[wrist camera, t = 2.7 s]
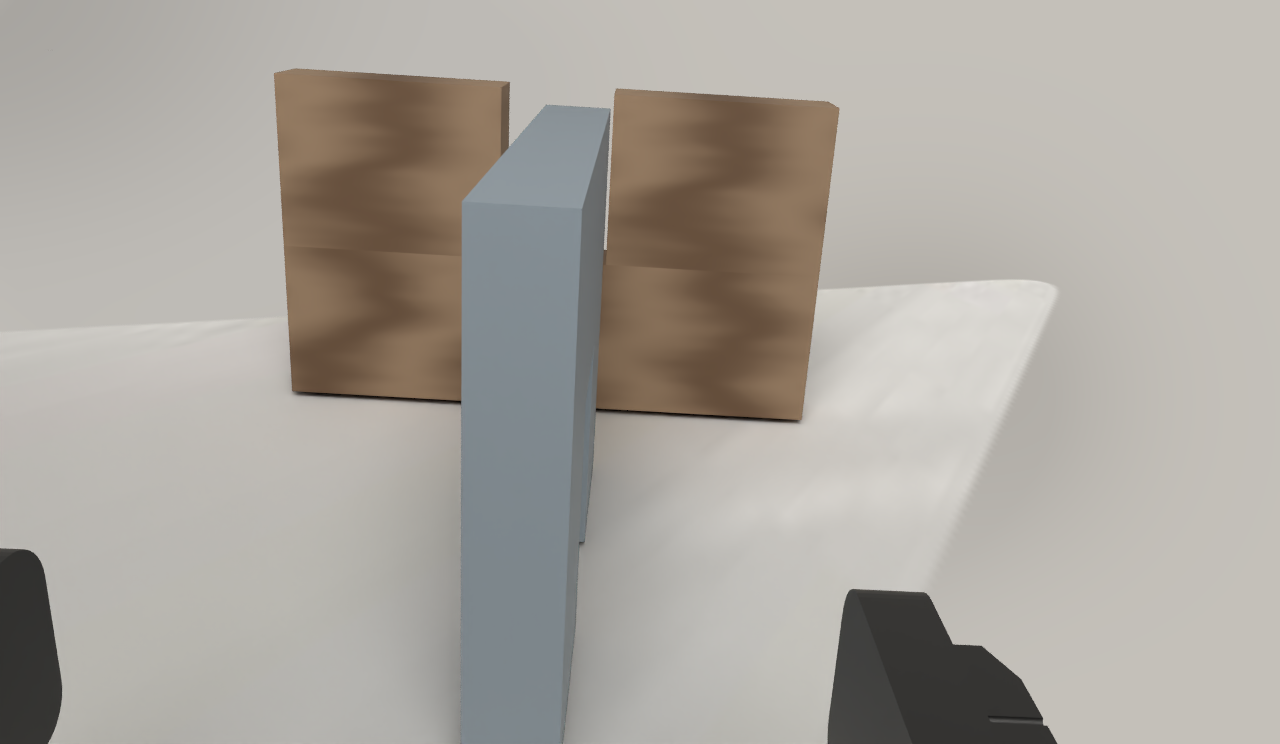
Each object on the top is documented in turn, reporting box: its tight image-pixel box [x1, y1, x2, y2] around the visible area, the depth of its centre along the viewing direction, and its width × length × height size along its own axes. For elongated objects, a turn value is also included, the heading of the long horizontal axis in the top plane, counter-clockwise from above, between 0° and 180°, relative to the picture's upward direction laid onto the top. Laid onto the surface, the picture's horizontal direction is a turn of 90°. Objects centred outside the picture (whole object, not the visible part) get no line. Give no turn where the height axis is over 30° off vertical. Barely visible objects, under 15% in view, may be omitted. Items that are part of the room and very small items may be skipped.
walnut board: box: [274, 69, 839, 420], centre depth 40 cm, size 20×2×12 cm, turn 90°
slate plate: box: [461, 105, 610, 744], centre depth 27 cm, size 2×16×12 cm, turn 0°
